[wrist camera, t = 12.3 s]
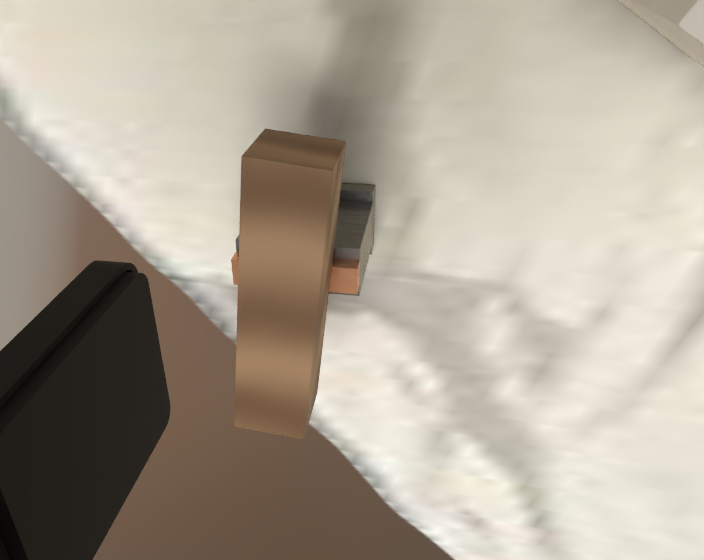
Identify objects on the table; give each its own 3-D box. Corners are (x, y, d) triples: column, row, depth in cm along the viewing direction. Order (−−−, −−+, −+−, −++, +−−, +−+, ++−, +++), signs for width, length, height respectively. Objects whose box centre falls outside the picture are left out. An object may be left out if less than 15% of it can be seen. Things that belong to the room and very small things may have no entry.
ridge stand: (268, 178, 42) (228, 236, 34) (375, 184, 41) (357, 245, 33) (272, 238, 44) (235, 305, 36) (373, 246, 43) (356, 315, 36)
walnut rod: (265, 128, 31) (241, 156, 28) (345, 141, 31) (332, 170, 27) (253, 380, 39) (234, 426, 36) (317, 392, 39) (304, 439, 36)
